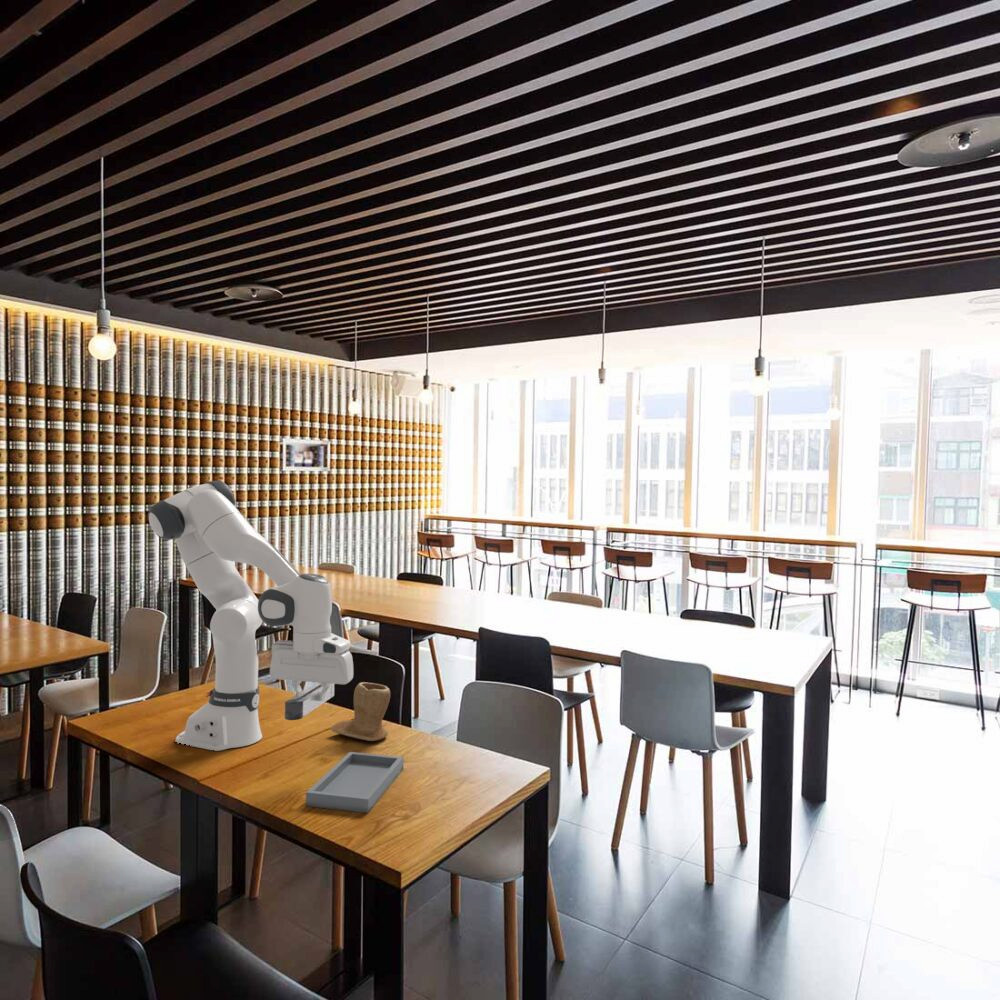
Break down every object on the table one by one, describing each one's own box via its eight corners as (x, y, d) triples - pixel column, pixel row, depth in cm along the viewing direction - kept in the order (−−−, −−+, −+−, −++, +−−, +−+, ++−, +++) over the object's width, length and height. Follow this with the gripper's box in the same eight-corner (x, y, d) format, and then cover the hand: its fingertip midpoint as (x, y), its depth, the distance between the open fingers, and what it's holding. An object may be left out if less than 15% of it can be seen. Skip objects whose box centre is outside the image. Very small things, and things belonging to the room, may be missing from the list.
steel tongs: (281, 719, 156) (281, 703, 156) (319, 694, 175) (320, 680, 175) (297, 720, 155) (298, 705, 155) (334, 695, 175) (334, 682, 175)
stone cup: (397, 735, 199) (399, 683, 199) (371, 747, 188) (373, 692, 188) (357, 725, 206) (358, 675, 206) (329, 736, 196) (331, 684, 196)
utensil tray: (305, 806, 152) (306, 792, 152) (349, 763, 177) (349, 751, 177) (368, 813, 149) (368, 799, 149) (403, 768, 174) (403, 757, 174)
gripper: (265, 642, 164) (264, 699, 164) (346, 647, 161) (344, 706, 161) (278, 636, 171) (277, 692, 171) (356, 642, 167) (355, 699, 167)
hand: (310, 699), depth 166 cm, fingers closed on steel tongs, 4 cm apart
